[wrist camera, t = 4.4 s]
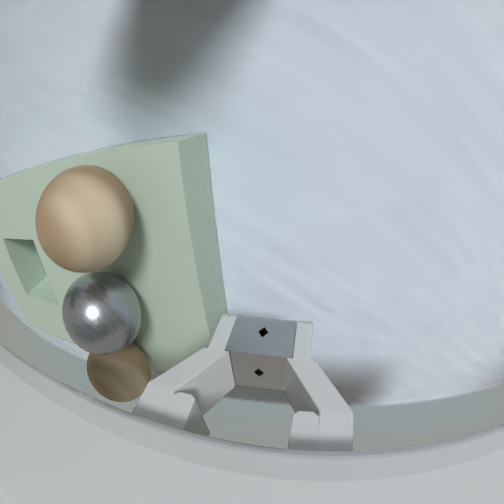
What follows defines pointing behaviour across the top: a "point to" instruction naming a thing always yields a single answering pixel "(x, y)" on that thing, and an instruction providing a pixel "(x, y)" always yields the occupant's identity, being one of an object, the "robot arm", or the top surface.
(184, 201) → the board
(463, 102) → the top surface
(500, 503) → the robot arm
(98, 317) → the steel ball
